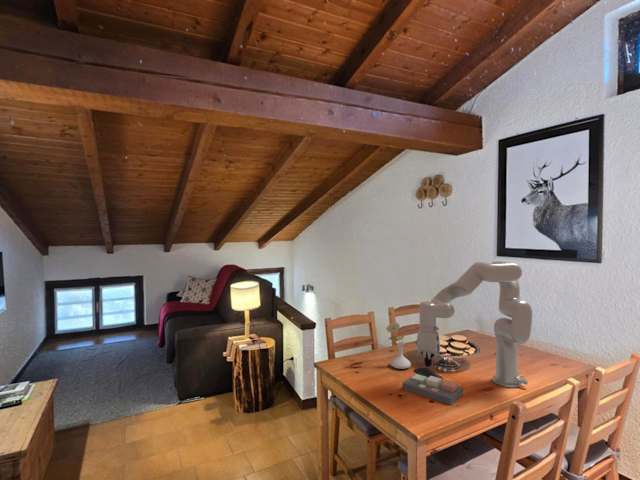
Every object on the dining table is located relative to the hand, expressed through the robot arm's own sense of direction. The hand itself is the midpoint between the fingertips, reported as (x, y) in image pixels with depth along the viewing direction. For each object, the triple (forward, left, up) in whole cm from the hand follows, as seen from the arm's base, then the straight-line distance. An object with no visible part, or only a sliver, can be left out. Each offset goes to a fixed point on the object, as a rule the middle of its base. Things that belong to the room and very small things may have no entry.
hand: (428, 365), depth 165 cm
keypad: (-3, +2, -11) cm, 11 cm away
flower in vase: (+24, -14, -11) cm, 29 cm away
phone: (+7, -14, -11) cm, 19 cm away
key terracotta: (-10, 0, -8) cm, 13 cm away
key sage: (+5, 0, -10) cm, 11 cm away
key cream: (-3, 0, -8) cm, 9 cm away
